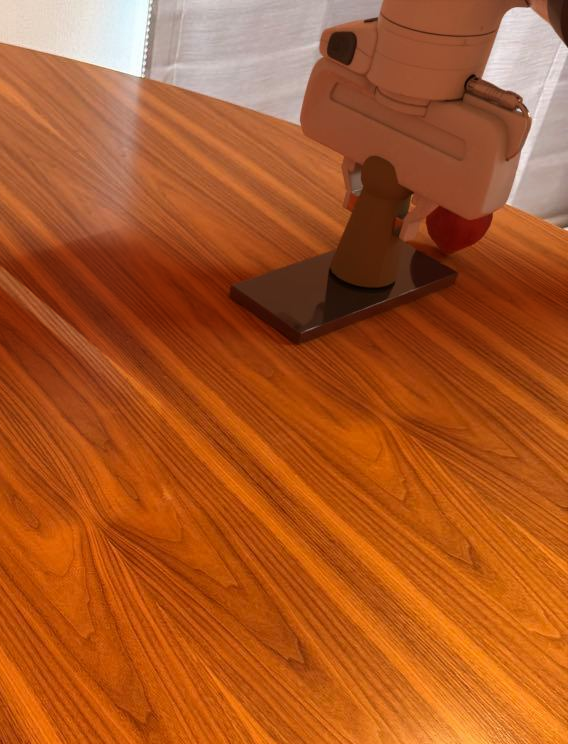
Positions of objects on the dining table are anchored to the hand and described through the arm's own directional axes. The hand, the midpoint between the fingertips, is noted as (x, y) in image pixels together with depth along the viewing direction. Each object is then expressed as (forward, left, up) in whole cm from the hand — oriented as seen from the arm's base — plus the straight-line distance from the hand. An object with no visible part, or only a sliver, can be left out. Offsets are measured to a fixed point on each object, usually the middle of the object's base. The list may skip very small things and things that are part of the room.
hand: (377, 223), depth 86 cm
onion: (-12, 0, -6) cm, 14 cm away
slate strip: (+2, 0, -6) cm, 6 cm away
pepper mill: (0, 0, -5) cm, 5 cm away
